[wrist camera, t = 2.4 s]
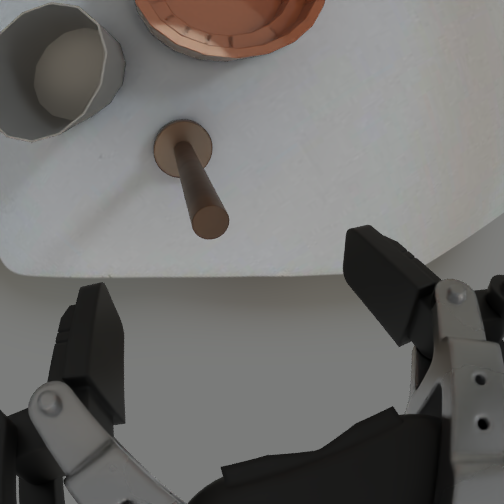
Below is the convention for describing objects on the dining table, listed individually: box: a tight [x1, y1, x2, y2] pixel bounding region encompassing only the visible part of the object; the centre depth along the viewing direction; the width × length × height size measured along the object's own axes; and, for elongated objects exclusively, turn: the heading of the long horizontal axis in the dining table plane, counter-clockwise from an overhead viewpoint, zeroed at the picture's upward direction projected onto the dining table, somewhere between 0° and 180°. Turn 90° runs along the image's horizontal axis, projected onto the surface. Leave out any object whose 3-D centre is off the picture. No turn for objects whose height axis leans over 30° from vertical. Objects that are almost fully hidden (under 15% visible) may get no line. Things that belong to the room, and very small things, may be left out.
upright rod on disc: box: [154, 119, 229, 239], centre depth 20 cm, size 5×5×16 cm
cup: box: [0, 2, 126, 143], centre depth 16 cm, size 8×8×10 cm
